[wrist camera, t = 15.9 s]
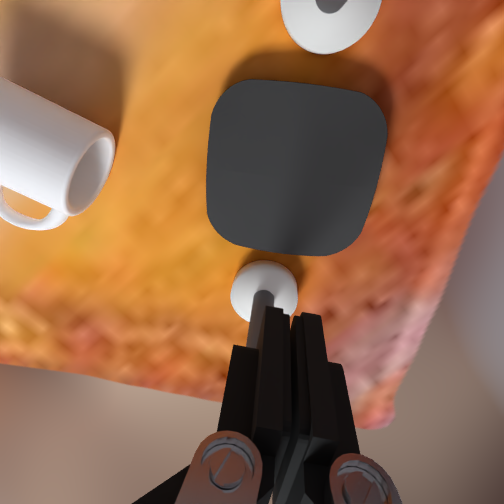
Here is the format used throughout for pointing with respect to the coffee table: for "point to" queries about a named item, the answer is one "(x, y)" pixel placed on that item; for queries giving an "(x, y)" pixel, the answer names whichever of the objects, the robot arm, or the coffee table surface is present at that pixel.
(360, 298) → the coffee table surface
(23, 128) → the mug
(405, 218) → the coffee table surface
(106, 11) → the coffee table surface
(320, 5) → the post
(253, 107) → the media streaming box
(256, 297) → the far cord post
